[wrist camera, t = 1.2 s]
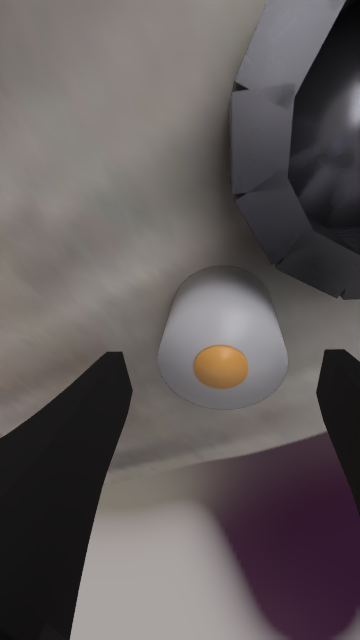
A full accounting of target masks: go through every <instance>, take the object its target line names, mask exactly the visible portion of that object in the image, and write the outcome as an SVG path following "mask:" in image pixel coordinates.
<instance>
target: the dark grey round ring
mask: <svg viewBox="0 0 360 640" xmlns="http://www.w3.org/2000/svg"><path fill="white" fill-rule="evenodd" d="M229 134H230V138H229V148H230V182H231V187H232V192H233V195H234V200H235V203H236V204H237V206H238V208H239V210H240V211H241V213H242V215H243V216H244V218H245V220H246V222H247V223H248V225H249V227H250V228H251V230H252V232H253V233H254V235H255V237H256V239H257V240H258V242H259V244H260V245H261V247H262V249H263V250H264V252H265V254H266V256H267V257H268V259H269V261H270V262H271V264H275V267H276V269H278V270H280V271H282V272H284V273H286V274H288V275H290V276H292V277H294V278H296V279H298V280H300V281H302V282H304V283H306V284H308V285H310V286H312V287H314V288H316V289H318V290H321V291H323V292H325V293H327V294H329V295H331V296H333V297H335V298H338V296H339V295H340V296H341V297H342V299H343V300H348V299H360V0H268V2H267V4H266V7H265V9H264V11H263V14H262V16H261V19H260V21H259V23H258V26H257V28H256V30H255V33H254V35H253V38H252V40H251V42H250V45H249V47H248V49H247V52H246V54H245V56H244V59H243V61H242V64H241V66H240V68H239V71H238V73H237V75H236V78H235V80H234V84H233V88H232V93H231V98H230V103H229Z"/></svg>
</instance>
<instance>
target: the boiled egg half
mask: <svg viewBox="0 0 360 640" xmlns="http://www.w3.org/2000/svg"><path fill="white" fill-rule="evenodd" d="M158 366H159V370H160V373H161V375H162V378H163V379H164V381H165V382H166V384H167V385H168V386H169V387H170V388H171V389H172V390H173V391H174V392H175V393H176V394H177V395H179V396H180V397H182V398H183V399H185V400H187V401H189V402H191V403H193V404H196V405H199V406H202V407H206V408H212V409H221V410H227V409H238V408H243V407H247V406H250V405H253V404H256V403H258V402H260V401H262V400H264V399H266V398H267V397H268V396H270V395H271V394H272V393H273V392H274V391H275V390H276V389H277V388H278V387H279V386H280V385H281V383H282V381H283V380H284V378H285V375H286V372H287V368H288V356H287V351H286V348H285V344H284V341H283V338H282V334H281V331H280V328H279V324H278V321H277V318H276V314H275V311H274V308H273V304H272V301H271V298H270V295H269V292H268V291H267V289H266V287H265V286H264V284H263V283H262V282H261V281H260V280H259V279H258V278H257V277H255V276H254V275H253V274H251V273H249V272H247V271H245V270H243V269H240V268H236V267H231V266H214V267H209V268H205V269H202V270H200V271H198V272H196V273H194V274H192V275H191V276H190V277H188V278H187V279H186V280H185V281H184V282H183V283H182V284H181V286H180V287H179V289H178V290H177V292H176V294H175V297H174V300H173V304H172V307H171V310H170V314H169V317H168V320H167V324H166V327H165V330H164V334H163V337H162V340H161V344H160V347H159V351H158Z"/></svg>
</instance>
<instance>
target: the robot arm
mask: <svg viewBox="0 0 360 640" xmlns="http://www.w3.org/2000/svg"><path fill="white" fill-rule="evenodd" d="M132 391H133V390H132V386H131V383H130V379H129V375H128V371H127V368H126V364H125V360H124V357H123V353H122V352H106V353H105V354H104V355H103V356H102V357H100V358H99V359H98V360H97V361H96V362H95V363H94V364H93V365H92V366H91V367H90V368H88V369H87V370H86V371H85V372H84V373H83V374H82V375H81V376H80V377H79V378H77V379H76V380H75V381H74V382H73V383H72V384H71V385H70V386H69V387H67V388H66V389H65V390H64V391H63V392H62V393H60V394H59V395H58V396H57V397H56V398H54V399H53V400H52V401H51V402H50V403H48V404H47V405H46V406H45V407H44V408H42V409H41V410H40V411H38V412H37V413H36V414H35V415H33V416H32V417H31V418H29V419H28V420H27V421H25V422H24V423H22V424H21V425H20V426H18V427H17V428H15V429H14V430H12V431H11V432H10V433H8V434H7V435H5V436H4V437H2V438H0V640H70V635H71V629H72V623H73V618H74V613H75V607H76V602H77V596H78V591H79V586H80V581H81V576H82V571H83V567H84V562H85V557H86V552H87V547H88V543H89V539H90V535H91V531H92V526H93V522H94V518H95V514H96V510H97V506H98V502H99V498H100V494H101V490H102V486H103V483H104V480H105V477H106V474H107V471H108V468H109V465H110V462H111V460H112V457H113V454H114V451H115V448H116V446H117V443H118V440H119V437H120V435H121V432H122V429H123V426H124V423H125V420H126V417H127V414H128V410H129V406H130V401H131V396H132ZM316 394H317V398H318V402H319V406H320V410H321V414H322V417H323V421H324V423H325V426H326V428H327V431H328V433H329V436H330V439H331V441H332V444H333V446H334V448H335V451H336V453H337V456H338V458H339V461H340V463H341V466H342V468H343V471H344V473H345V475H346V478H347V481H348V483H349V486H350V488H351V491H352V494H353V497H354V499H355V502H356V505H357V509H358V512H359V515H360V362H359V361H358V360H357V359H356V358H354V357H353V356H352V355H351V354H350V353H348V352H347V351H346V350H344V349H334V350H325V352H324V357H323V362H322V367H321V371H320V376H319V381H318V386H317V391H316Z"/></svg>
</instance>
